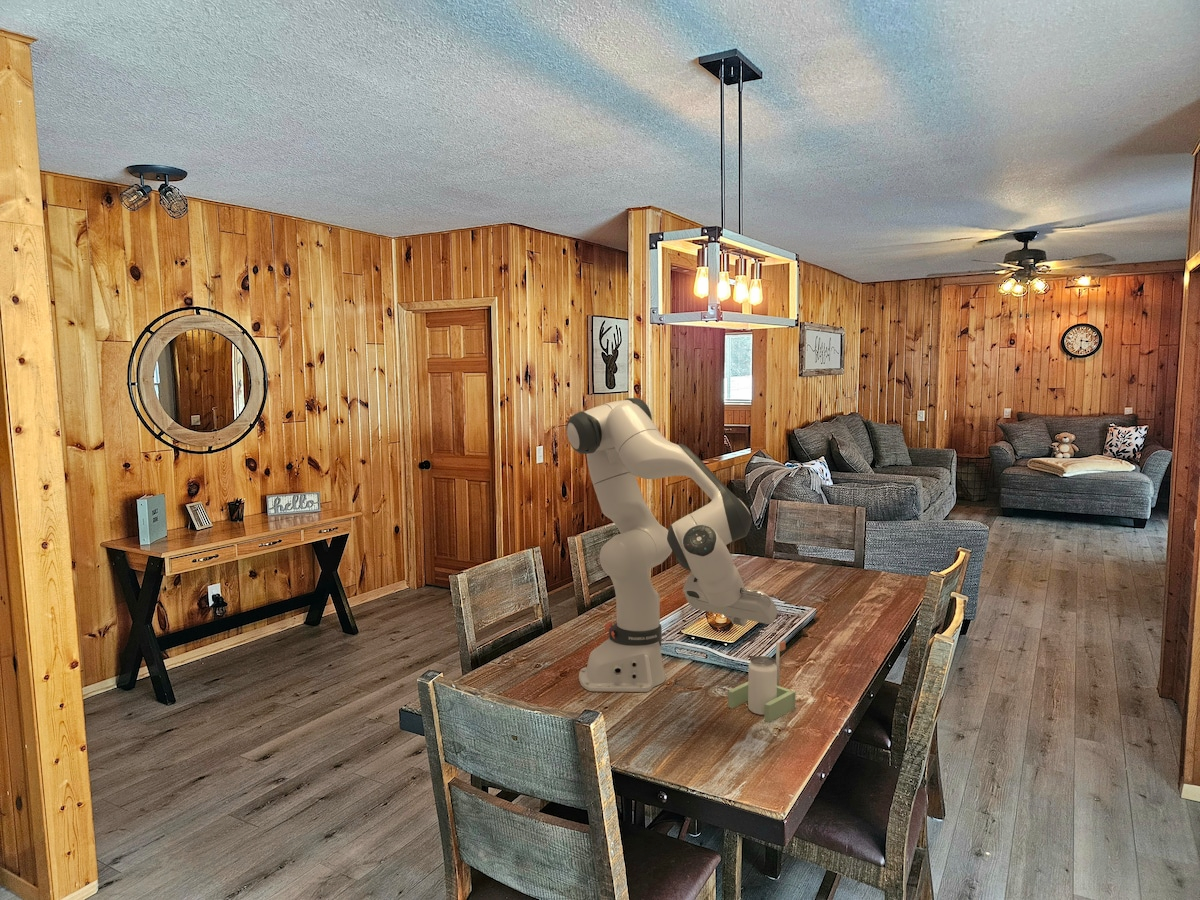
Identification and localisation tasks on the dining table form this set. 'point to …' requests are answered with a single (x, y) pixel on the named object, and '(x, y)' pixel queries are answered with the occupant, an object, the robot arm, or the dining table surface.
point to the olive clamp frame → (775, 706)
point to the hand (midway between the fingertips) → (740, 622)
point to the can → (761, 683)
